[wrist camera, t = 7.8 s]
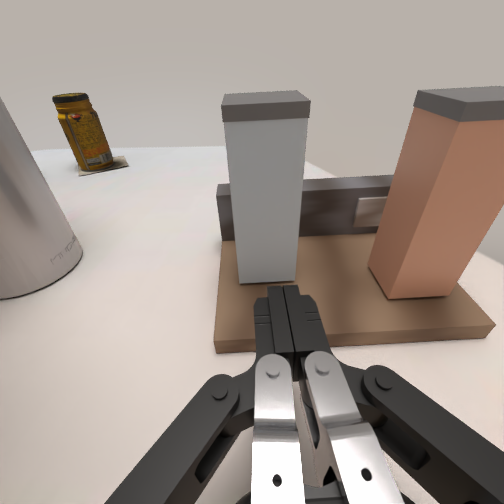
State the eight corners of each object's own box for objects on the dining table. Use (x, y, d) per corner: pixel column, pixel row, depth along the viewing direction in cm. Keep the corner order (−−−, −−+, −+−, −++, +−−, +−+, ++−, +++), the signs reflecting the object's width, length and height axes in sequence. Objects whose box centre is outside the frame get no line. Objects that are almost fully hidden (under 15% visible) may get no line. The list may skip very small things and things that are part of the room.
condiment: (78, 164, 52) (47, 94, 45) (123, 156, 55) (101, 89, 48) (79, 177, 47) (43, 99, 39) (129, 167, 50) (105, 93, 43)
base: (216, 353, 19) (201, 288, 15) (224, 239, 30) (217, 184, 26) (485, 337, 19) (543, 268, 15) (393, 229, 30) (412, 173, 26)
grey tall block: (238, 283, 21) (221, 105, 14) (238, 252, 25) (224, 94, 17) (295, 280, 21) (310, 100, 14) (288, 250, 25) (296, 90, 17)
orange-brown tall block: (387, 299, 20) (467, 102, 12) (366, 263, 23) (417, 90, 15) (449, 296, 20) (570, 97, 12) (420, 260, 23) (498, 86, 15)
